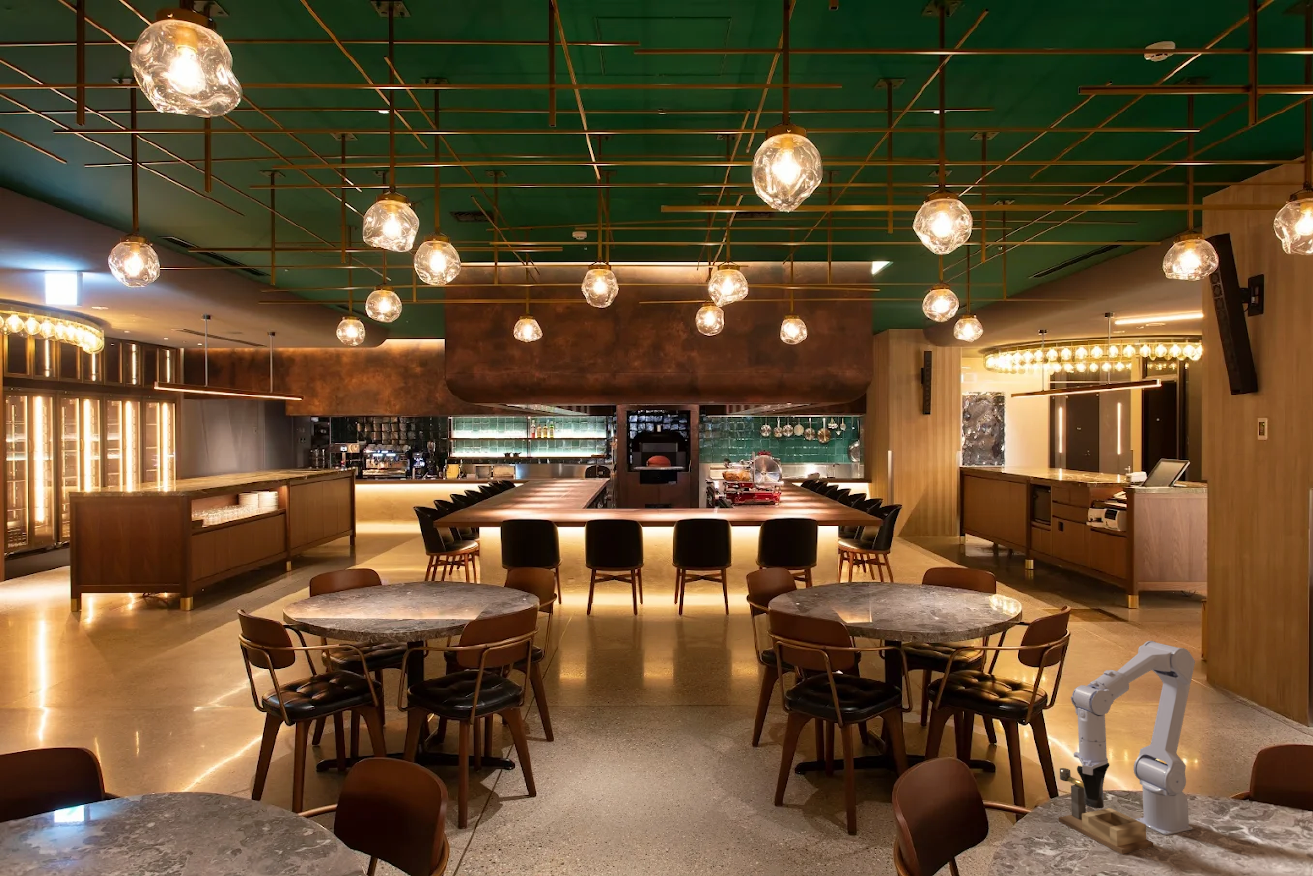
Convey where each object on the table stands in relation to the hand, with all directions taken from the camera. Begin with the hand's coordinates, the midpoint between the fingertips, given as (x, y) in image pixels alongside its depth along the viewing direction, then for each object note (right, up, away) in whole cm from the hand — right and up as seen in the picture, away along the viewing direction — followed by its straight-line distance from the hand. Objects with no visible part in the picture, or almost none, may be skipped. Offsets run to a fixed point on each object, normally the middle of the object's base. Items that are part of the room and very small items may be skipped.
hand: (1094, 796), depth 177 cm
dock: (+3, -9, +1) cm, 10 cm away
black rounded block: (0, -2, 0) cm, 2 cm away
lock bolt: (0, -1, +8) cm, 8 cm away
